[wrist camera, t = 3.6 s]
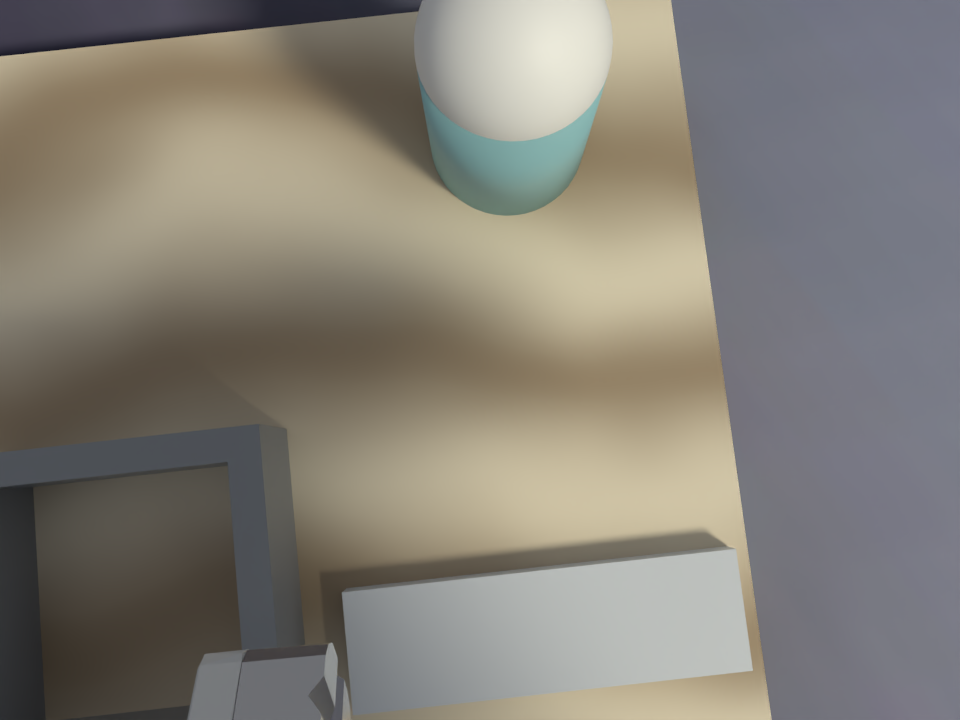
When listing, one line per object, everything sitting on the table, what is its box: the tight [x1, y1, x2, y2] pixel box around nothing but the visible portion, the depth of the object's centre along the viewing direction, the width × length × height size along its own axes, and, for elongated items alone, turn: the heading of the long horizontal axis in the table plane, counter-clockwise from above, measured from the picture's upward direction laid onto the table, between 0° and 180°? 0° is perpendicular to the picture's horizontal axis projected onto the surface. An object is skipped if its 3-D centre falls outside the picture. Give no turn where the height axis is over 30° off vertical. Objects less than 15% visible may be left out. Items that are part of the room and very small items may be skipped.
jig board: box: [0, 0, 771, 720], centre depth 25 cm, size 20×20×2 cm
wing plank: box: [342, 546, 753, 715], centre depth 23 cm, size 10×3×1 cm, turn 96°
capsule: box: [414, 0, 613, 216], centre depth 21 cm, size 4×4×8 cm
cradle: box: [0, 424, 305, 720], centre depth 22 cm, size 8×8×3 cm
